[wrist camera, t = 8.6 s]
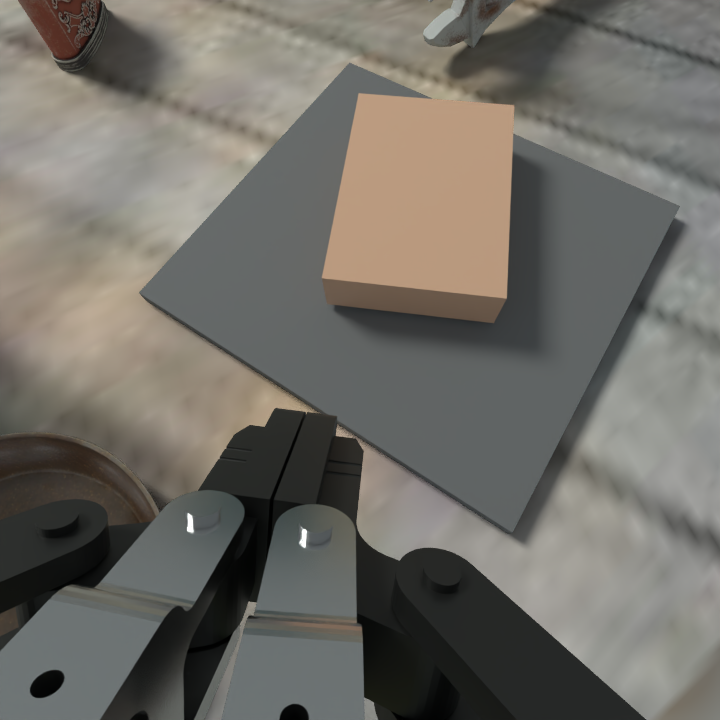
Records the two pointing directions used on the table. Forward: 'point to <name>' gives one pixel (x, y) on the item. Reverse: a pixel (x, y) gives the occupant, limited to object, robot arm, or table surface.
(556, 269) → the mat
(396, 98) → the tan rectangular block
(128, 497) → the plant saucer
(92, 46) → the lighter
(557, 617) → the table surface
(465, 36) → the wrench
